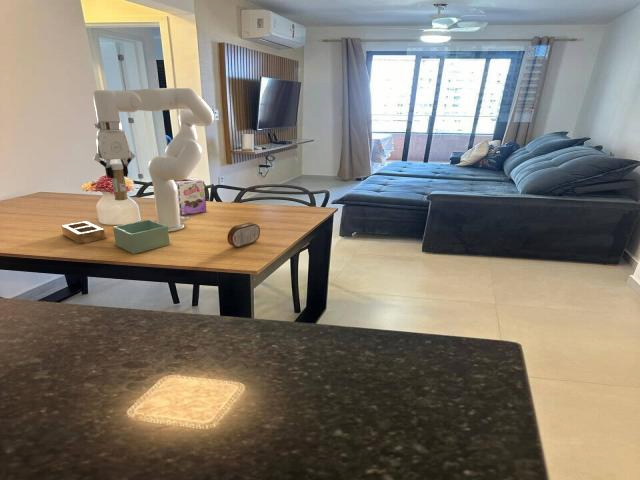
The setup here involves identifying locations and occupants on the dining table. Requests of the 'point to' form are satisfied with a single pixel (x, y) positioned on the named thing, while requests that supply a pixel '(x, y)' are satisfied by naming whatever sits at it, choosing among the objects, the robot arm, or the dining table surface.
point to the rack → (83, 232)
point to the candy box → (191, 197)
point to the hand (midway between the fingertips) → (117, 176)
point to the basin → (141, 236)
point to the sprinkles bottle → (118, 182)
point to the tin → (243, 234)
